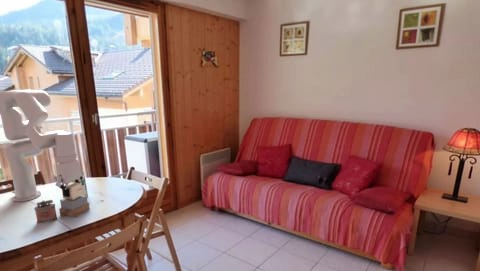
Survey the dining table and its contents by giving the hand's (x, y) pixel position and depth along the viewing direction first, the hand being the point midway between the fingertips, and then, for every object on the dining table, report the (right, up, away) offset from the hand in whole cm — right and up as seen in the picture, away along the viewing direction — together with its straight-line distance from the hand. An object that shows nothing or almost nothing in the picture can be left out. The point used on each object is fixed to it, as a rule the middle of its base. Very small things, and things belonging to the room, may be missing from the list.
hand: (72, 193), depth 137 cm
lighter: (-9, -12, -6) cm, 16 cm away
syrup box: (-7, -7, +18) cm, 21 cm away
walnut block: (0, -10, +2) cm, 10 cm away
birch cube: (0, -2, 0) cm, 2 cm away
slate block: (0, -6, +1) cm, 6 cm away
